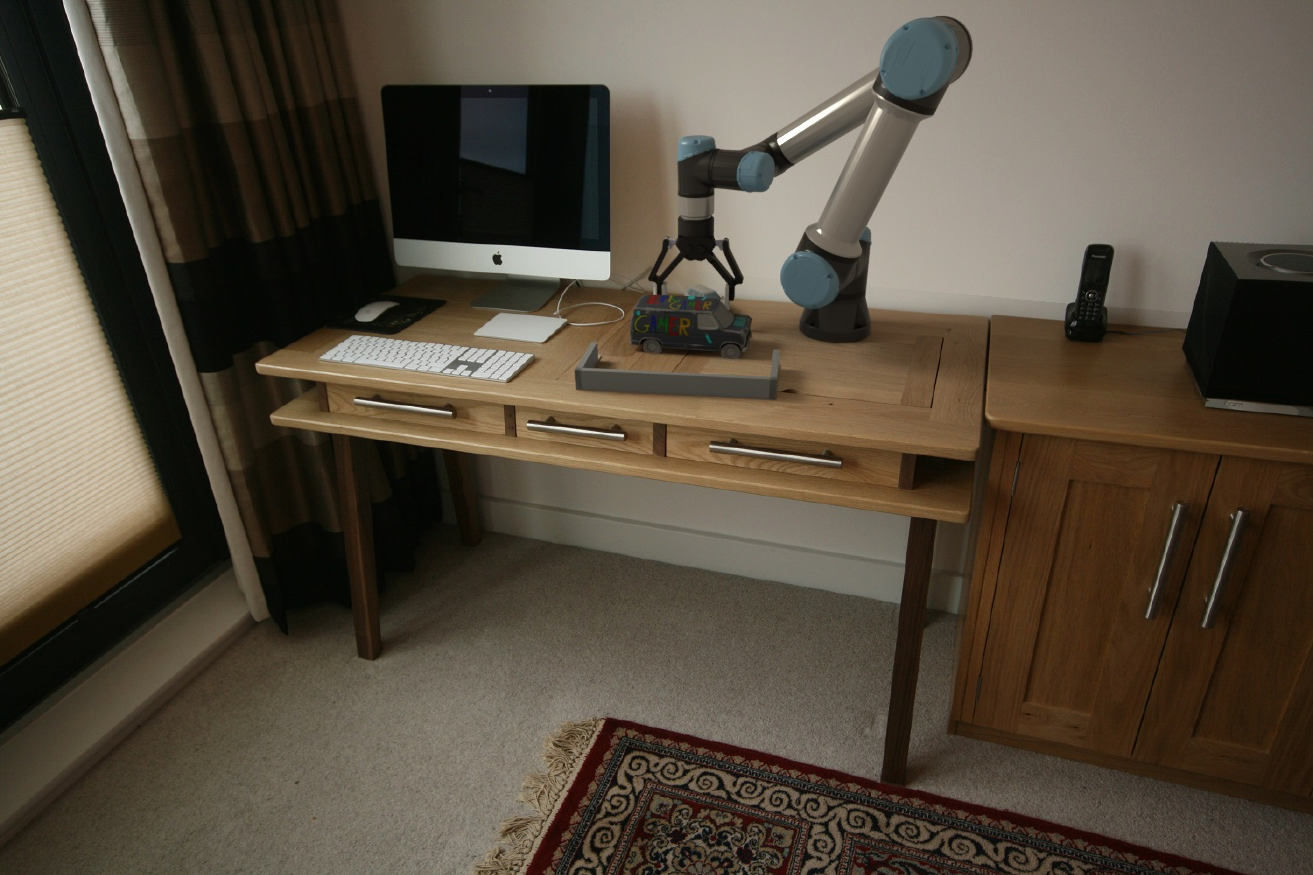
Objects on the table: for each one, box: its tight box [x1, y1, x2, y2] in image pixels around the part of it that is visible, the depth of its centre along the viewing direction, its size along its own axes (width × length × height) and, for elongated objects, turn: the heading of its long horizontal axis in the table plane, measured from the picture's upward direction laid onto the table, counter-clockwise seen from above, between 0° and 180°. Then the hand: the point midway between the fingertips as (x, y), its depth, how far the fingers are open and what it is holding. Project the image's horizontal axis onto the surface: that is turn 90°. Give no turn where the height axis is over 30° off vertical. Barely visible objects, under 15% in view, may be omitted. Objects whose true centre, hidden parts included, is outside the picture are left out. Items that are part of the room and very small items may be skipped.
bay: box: [574, 341, 780, 401], centre depth 167 cm, size 37×17×4 cm, turn 81°
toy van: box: [628, 293, 753, 360], centre depth 179 cm, size 11×25×10 cm, turn 77°
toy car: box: [683, 283, 732, 313], centre depth 200 cm, size 6×13×5 cm, turn 33°
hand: (695, 313), depth 188 cm, fingers open, 13 cm apart
